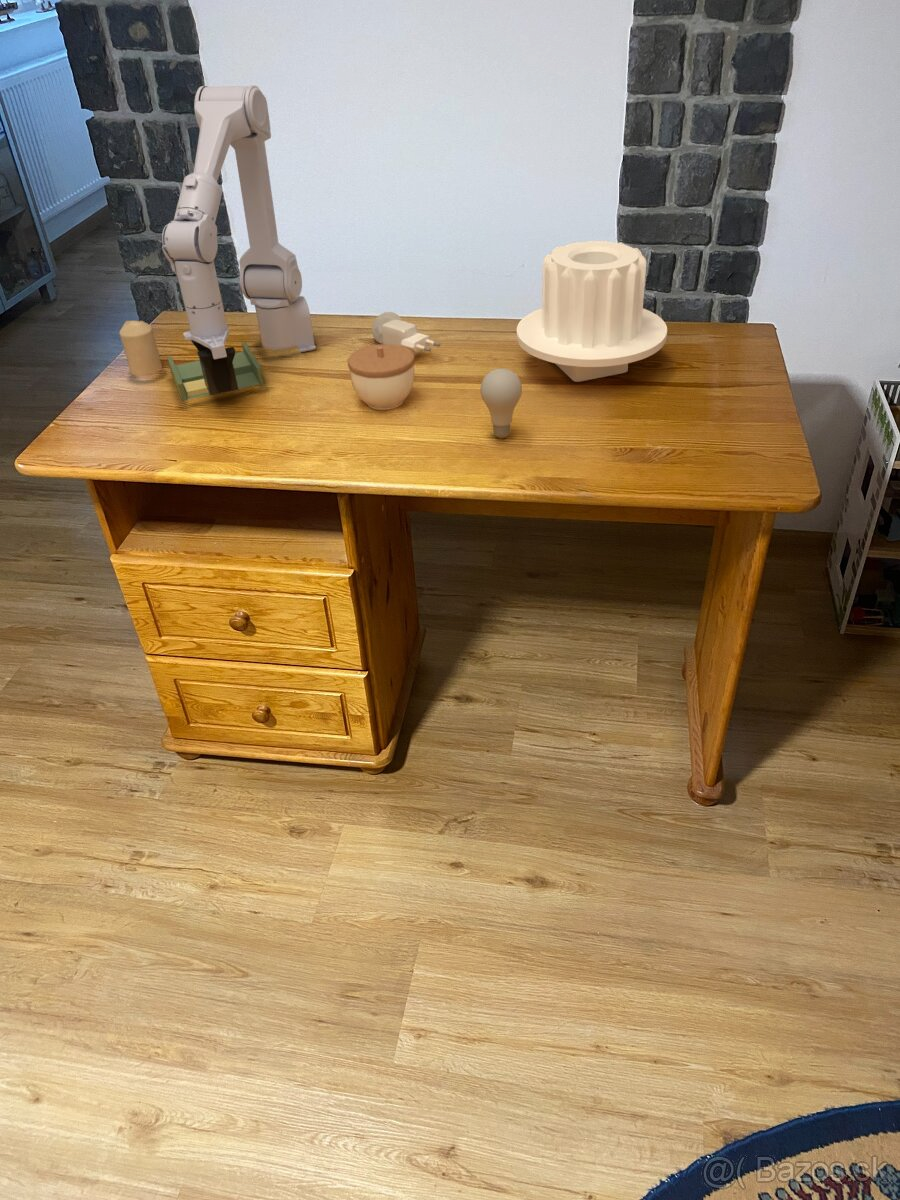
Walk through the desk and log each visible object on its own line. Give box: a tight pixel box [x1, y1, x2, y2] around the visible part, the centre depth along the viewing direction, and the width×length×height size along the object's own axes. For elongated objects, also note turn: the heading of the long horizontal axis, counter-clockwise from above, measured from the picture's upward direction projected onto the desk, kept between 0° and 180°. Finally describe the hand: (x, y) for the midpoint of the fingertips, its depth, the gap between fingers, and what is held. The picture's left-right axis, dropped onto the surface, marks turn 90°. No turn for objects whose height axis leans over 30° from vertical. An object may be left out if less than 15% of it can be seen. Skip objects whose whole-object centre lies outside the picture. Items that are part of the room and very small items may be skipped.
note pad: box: [183, 379, 209, 397], centre depth 154 cm, size 4×4×1 cm
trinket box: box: [347, 344, 415, 411], centre depth 147 cm, size 11×11×9 cm
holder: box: [198, 358, 239, 396], centre depth 147 cm, size 5×5×4 cm
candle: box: [119, 320, 163, 377], centre depth 160 cm, size 6×6×10 cm
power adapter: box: [382, 319, 441, 357], centre depth 161 cm, size 11×5×6 cm, turn 50°
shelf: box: [167, 341, 265, 402], centre depth 157 cm, size 14×12×4 cm
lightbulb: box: [480, 367, 523, 439], centre depth 135 cm, size 6×6×11 cm
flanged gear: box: [516, 239, 668, 383], centre depth 151 cm, size 25×25×19 cm
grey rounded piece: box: [371, 311, 403, 345], centre depth 170 cm, size 6×6×5 cm
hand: (221, 384), depth 148 cm, fingers closed on holder, 4 cm apart
